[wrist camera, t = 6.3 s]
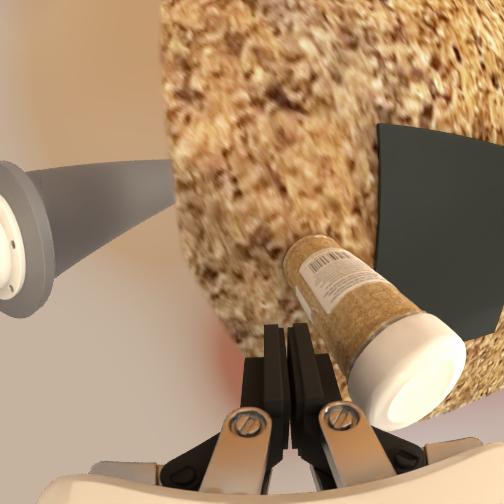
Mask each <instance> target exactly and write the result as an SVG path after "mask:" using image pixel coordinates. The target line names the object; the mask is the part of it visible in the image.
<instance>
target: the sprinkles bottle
mask: <svg viewBox="0 0 504 504" xmlns="http://www.w3.org/2000/svg"><path fill="white" fill-rule="evenodd" d="M283 271H284V275H285V278H286V281H287V282H288V284H289V285H290V286H291V287H292V288H293V289H294V291H295V293H296V295H297V297H298V300H299V301H300V303H301V305H302V307H303V309H304V310H305V312H306V314H307V315H308V317H309V319H310V320H311V322H312V324H313V325H314V326H315V328H316V329H317V330H318V332H319V334H320V335H321V337H322V339H323V340H324V342H325V343H326V345H327V347H328V349H329V351H330V352H331V354H332V356H333V358H334V360H335V361H336V363H337V364H338V366H339V368H340V369H341V371H342V373H343V374H344V376H345V377H346V381H347V385H348V393H349V395H350V398H351V399H352V401H353V403H354V404H356V405H357V406H359V407H360V408H361V409H362V411H363V412H364V414H365V416H366V418H367V420H368V421H369V423H370V425H372V426H374V427H376V428H378V429H381V430H383V431H393V430H397V429H400V428H403V427H406V426H408V425H410V424H412V423H414V422H416V421H418V420H419V419H421V418H422V417H424V416H425V415H427V414H428V413H429V412H430V411H432V410H433V409H434V408H435V407H436V406H437V405H438V404H439V403H440V402H441V401H442V400H443V399H444V398H445V397H446V396H447V395H448V394H449V392H450V391H451V390H452V388H453V387H454V385H455V384H456V382H457V380H458V379H459V377H460V375H461V373H462V370H463V367H464V364H465V359H466V348H465V345H464V342H463V341H462V339H461V338H460V337H459V336H458V335H457V334H456V333H455V332H454V331H453V330H452V329H450V328H449V327H448V326H447V325H446V324H445V323H443V322H442V321H441V320H440V319H438V318H437V317H436V316H434V315H431V314H427V313H426V311H422V310H421V309H419V308H418V307H417V306H416V305H415V304H413V302H411V301H410V300H409V299H408V298H406V297H405V296H404V295H403V294H401V293H400V292H399V291H398V289H397V288H396V287H395V286H393V285H392V284H391V283H390V282H388V281H387V280H386V279H385V278H383V277H382V276H381V275H379V274H378V273H377V272H375V271H374V270H373V269H371V268H370V267H369V266H368V265H366V264H365V263H364V262H362V261H361V260H359V259H358V258H357V257H355V256H354V255H353V254H351V253H350V252H348V251H346V250H344V249H342V248H341V247H340V246H339V245H338V244H337V243H336V242H335V241H334V240H333V239H332V238H330V237H328V236H325V235H322V234H312V235H309V236H305V237H302V238H301V239H299V240H297V241H296V242H295V243H294V244H293V245H292V246H291V247H290V249H289V250H288V252H287V254H286V256H285V258H284V262H283Z"/></svg>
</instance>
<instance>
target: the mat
mask: <svg viewBox="0 0 504 504" xmlns="http://www.w3.org/2000/svg"><path fill="white" fill-rule="evenodd" d="M377 130H378V152H379V207H378V230H377V245H376V257H375V268H374V271H375V272H377V273H378V274H379V275H381V276H382V277H383V278H385V279H386V280H387V281H388V282H390V283H391V284H392V285H393V286H395V287H396V288H397V289H398V291H399V292H400V293H401V294H403V295H404V296H405V297H406V298H408V299H409V300H410V301H411V302H413V304H415V305H416V306H417V307H418V308H419V309H421V310H422V311H426V313H427V314H431V315H434V316H436V317H437V318H438V319H440V320H441V321H442V322H443V323H445V324H446V325H447V326H448V327H449V328H450V329H452V330H453V331H454V332H455V333H456V334H457V335H458V336H459V337H460V338H461V339H462V341H463V342H464V341H468V340H471V339H475V338H478V337H481V336H485V335H488V334H491V333H494V332H495V329H496V326H497V324H498V321H499V318H500V315H501V312H502V309H503V305H504V147H503V146H500V145H496V144H493V143H489V142H485V141H481V140H477V139H473V138H469V137H464V136H460V135H455V134H450V133H445V132H440V131H434V130H428V129H422V128H415V127H408V126H400V125H392V124H383V123H378V124H377Z"/></svg>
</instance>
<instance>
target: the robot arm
mask: <svg viewBox="0 0 504 504" xmlns="http://www.w3.org/2000/svg"><path fill="white" fill-rule="evenodd" d="M25 272H26V260H25V250H24V245H23V240H22V236H21V232H20V229H19V226H18V223H17V220H16V218H15V215H14V214H13V212H12V210H11V208H10V206H9V205H8V203H7V202H6V200H5V199H4V198H3V197H2V196H1V195H0V299H2V300H9V299H11V298H13V297H14V296H15V295H16V294H18V293H19V292H20V290H21V288H22V286H23V283H24V280H25ZM289 421H290V426H291V440H292V449H298V456H301V458H302V459H303V460H305V461H307V462H308V463H309V464H310V470H311V473H312V476H313V479H314V483H315V486H316V489H317V492H307V493H296V494H280V495H268V491H269V485H270V480H271V475H272V467H274V466H275V465H276V464H277V463H279V462H280V461H281V460H282V458H283V449H288V437H289ZM36 504H504V442H496V443H490V444H486V445H483V443H482V442H481V441H480V440H479V439H477V438H474V437H468V438H463V439H458V440H452V441H445V442H438V443H431V444H426V445H425V446H424V447H419V446H417V445H415V444H413V443H411V442H408V441H406V440H404V439H401V438H399V437H397V436H394V435H392V434H389V433H387V432H385V431H383V430H381V429H378V428H376V427H374V426H372V425H370V423H369V421H368V420H367V418H366V416H365V414H364V412H363V411H362V409H361V408H360V407H359V406H357V405H356V404H354V403H352V402H349V401H342V398H341V395H340V391H339V387H338V384H337V380H336V377H335V373H334V370H333V367H332V363H331V360H330V357H329V354H328V353H326V354H314V350H313V345H312V341H311V337H310V333H309V329H308V325H307V323H294V324H293V327H288V336H287V356H286V346H285V337H284V328H278V324H274V325H264V357H253V358H245V362H244V373H243V384H242V395H241V406H240V408H238V409H236V410H234V411H232V412H231V413H230V414H229V415H227V417H226V419H225V421H224V423H223V426H222V429H221V432H220V433H218V434H217V435H215V436H213V437H211V438H210V439H208V440H206V441H205V442H203V443H201V444H200V445H198V446H196V447H195V448H193V449H191V450H189V451H188V452H186V453H184V454H182V455H180V456H179V457H177V458H175V459H173V460H171V461H169V462H168V463H167V464H165V465H157V464H156V463H137V462H133V463H132V462H114V461H101V462H98V463H96V464H94V465H93V466H92V467H91V468H90V471H89V473H88V474H79V475H78V474H77V475H68V476H63V477H60V478H57V479H55V480H54V481H52V482H51V483H50V484H49V485H48V486H47V488H46V489H45V490H44V492H43V493H42V494H41V496H40V497H39V499H38V501H37V503H36Z"/></svg>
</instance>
